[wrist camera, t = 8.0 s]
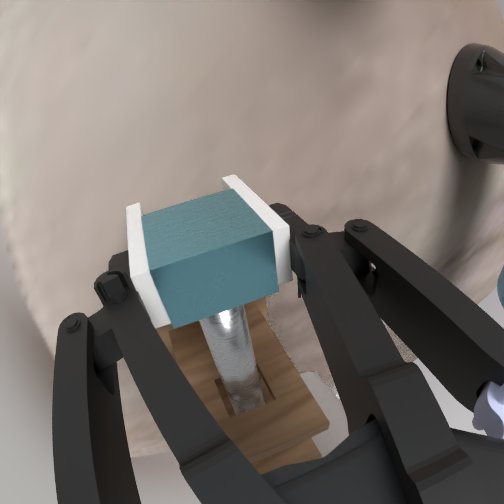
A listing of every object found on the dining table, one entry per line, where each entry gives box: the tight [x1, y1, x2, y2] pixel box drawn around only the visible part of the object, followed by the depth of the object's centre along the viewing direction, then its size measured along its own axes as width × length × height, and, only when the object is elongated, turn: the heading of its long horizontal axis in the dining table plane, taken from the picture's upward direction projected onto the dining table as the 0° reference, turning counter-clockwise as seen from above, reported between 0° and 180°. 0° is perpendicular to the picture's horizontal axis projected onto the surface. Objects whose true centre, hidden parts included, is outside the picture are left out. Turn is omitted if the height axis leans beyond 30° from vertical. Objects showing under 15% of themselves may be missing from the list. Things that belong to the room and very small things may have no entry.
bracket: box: [155, 297, 330, 475], centre depth 25 cm, size 20×10×14 cm, turn 8°
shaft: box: [141, 188, 279, 415], centre depth 18 cm, size 20×5×5 cm, turn 8°
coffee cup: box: [300, 372, 349, 457], centre depth 35 cm, size 10×10×15 cm
